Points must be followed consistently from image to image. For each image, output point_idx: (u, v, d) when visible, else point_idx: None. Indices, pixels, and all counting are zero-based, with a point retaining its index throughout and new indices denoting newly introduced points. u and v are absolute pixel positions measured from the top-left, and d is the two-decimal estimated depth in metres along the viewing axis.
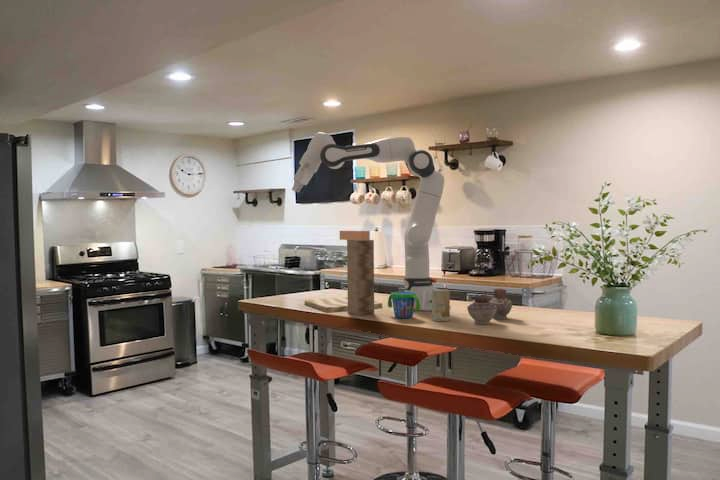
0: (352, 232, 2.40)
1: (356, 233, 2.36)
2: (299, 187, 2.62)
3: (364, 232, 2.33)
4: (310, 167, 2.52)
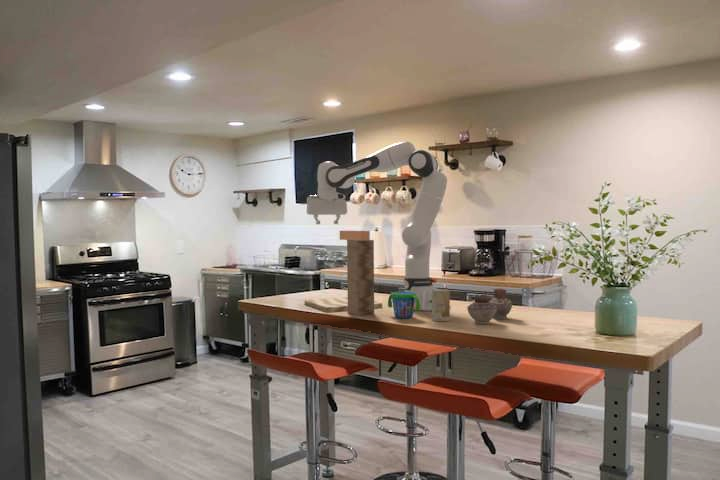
0: (352, 232, 2.40)
1: (356, 233, 2.36)
2: (336, 219, 2.72)
3: (364, 232, 2.33)
4: (320, 197, 2.66)
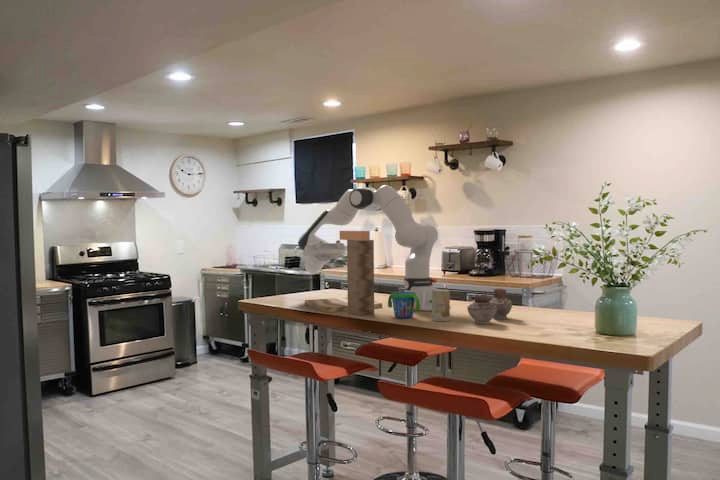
0: (352, 232, 2.40)
1: (356, 233, 2.36)
2: None
3: (364, 232, 2.33)
4: None
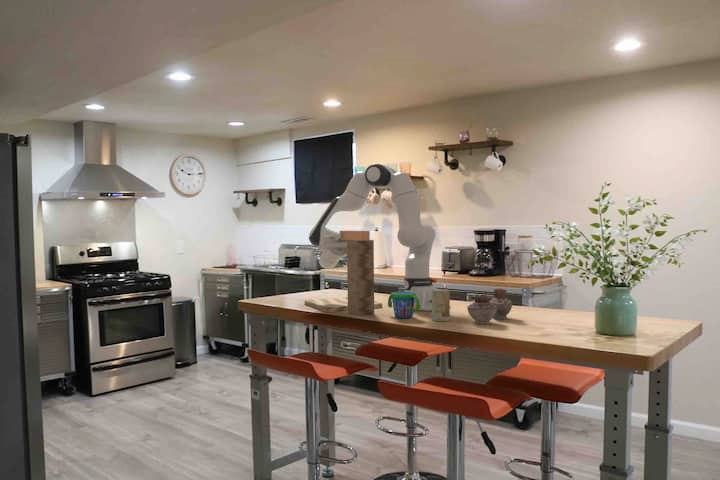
0: (352, 232, 2.40)
1: (356, 233, 2.36)
2: None
3: (364, 232, 2.33)
4: None
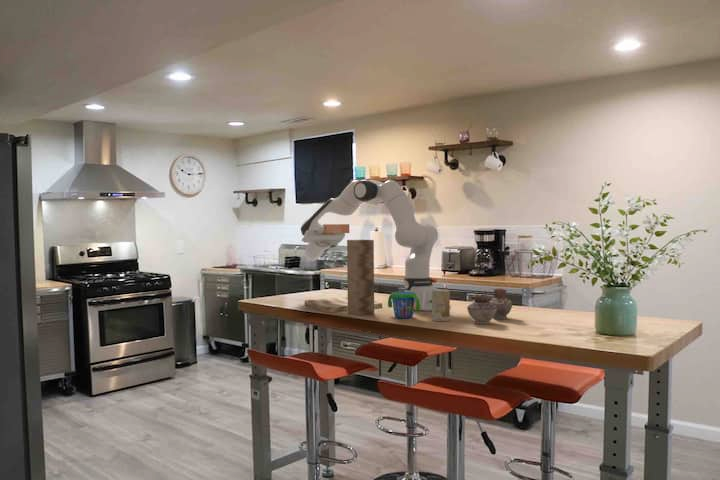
0: (333, 225, 2.58)
1: (337, 226, 2.54)
2: None
3: (344, 225, 2.51)
4: None
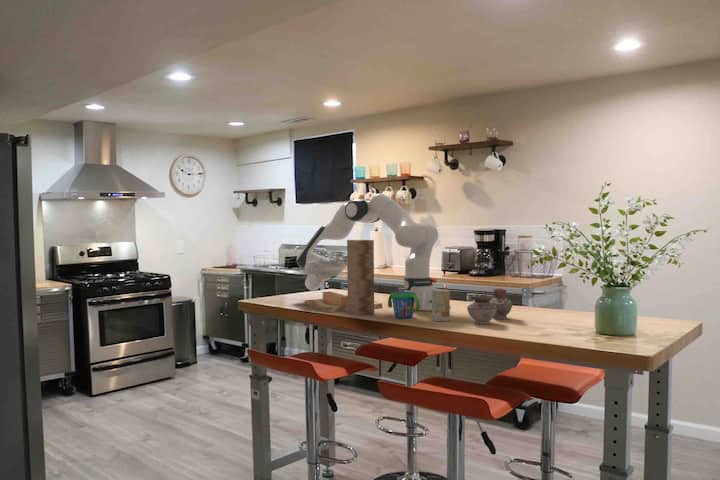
0: (333, 296, 2.59)
1: (337, 297, 2.56)
2: None
3: (344, 298, 2.53)
4: None
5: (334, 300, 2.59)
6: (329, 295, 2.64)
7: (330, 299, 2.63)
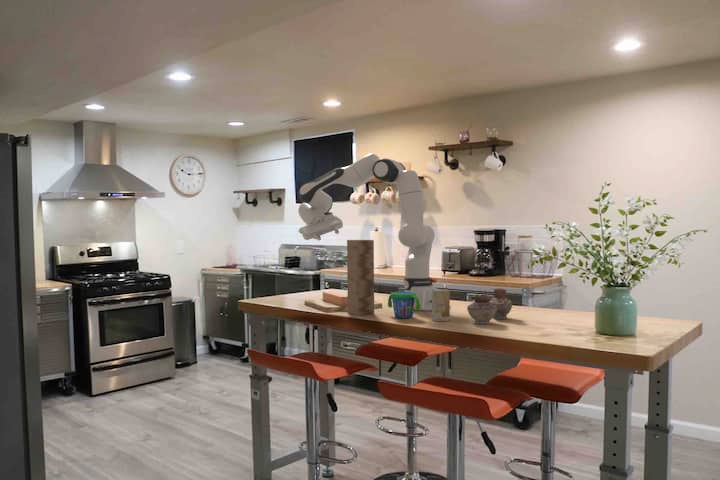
0: (333, 296, 2.59)
1: (337, 297, 2.56)
2: None
3: (344, 298, 2.53)
4: (309, 223, 2.68)
5: (334, 300, 2.59)
6: (329, 295, 2.64)
7: (330, 299, 2.63)
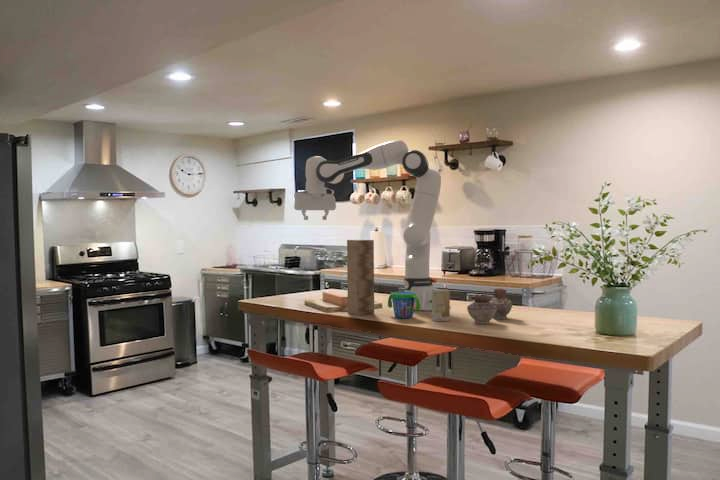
0: (333, 296, 2.59)
1: (337, 297, 2.56)
2: (325, 214, 2.67)
3: (344, 298, 2.53)
4: (308, 192, 2.61)
5: (334, 300, 2.59)
6: (329, 295, 2.64)
7: (330, 299, 2.63)
